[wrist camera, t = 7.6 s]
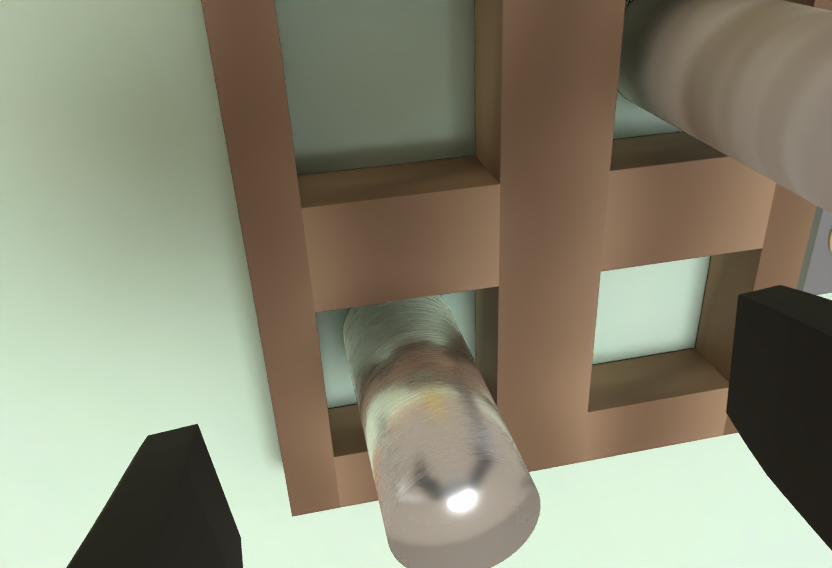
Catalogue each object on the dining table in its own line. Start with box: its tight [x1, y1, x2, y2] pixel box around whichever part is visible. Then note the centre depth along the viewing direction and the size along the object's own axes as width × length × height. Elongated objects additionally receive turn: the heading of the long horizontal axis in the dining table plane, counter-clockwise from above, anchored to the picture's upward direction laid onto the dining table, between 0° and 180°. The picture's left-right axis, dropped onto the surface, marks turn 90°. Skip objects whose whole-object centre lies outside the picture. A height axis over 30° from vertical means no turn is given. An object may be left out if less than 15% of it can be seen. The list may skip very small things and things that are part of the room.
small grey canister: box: [343, 295, 540, 568], centre depth 17 cm, size 3×3×7 cm
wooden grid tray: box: [201, 0, 832, 516], centre depth 16 cm, size 14×15×7 cm
